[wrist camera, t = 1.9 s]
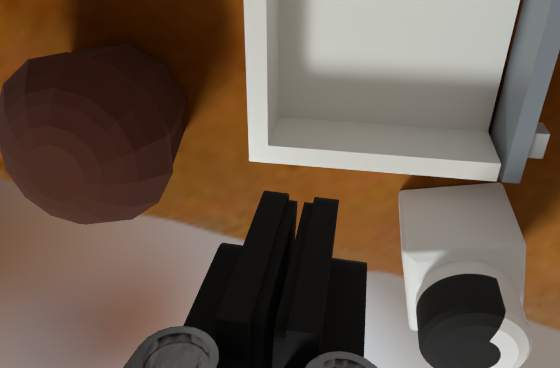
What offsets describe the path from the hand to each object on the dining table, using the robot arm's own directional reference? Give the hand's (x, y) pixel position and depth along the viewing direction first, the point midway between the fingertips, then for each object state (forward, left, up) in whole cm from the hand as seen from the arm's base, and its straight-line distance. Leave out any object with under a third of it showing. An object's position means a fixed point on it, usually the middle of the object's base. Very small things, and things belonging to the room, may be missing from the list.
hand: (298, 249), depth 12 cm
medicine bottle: (+15, +9, -23) cm, 29 cm away
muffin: (+7, -15, -23) cm, 29 cm away
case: (-1, +3, -23) cm, 23 cm away
